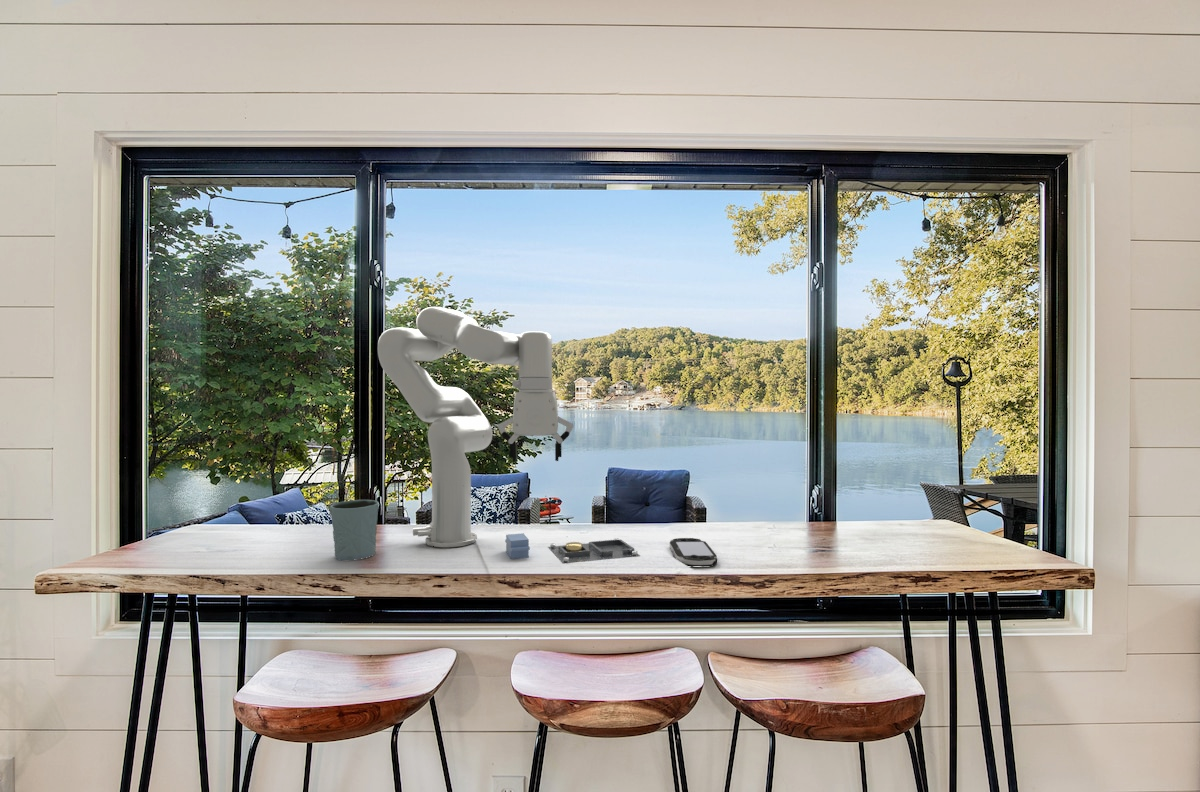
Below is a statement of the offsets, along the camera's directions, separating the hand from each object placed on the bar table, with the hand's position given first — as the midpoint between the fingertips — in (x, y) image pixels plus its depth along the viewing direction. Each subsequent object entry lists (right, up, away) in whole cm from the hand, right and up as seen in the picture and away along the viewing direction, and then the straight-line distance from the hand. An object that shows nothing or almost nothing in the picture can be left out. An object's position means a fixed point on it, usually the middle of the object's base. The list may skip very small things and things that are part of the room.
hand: (535, 460), depth 129 cm
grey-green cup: (-42, -22, 0) cm, 47 cm away
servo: (-4, -22, -2) cm, 23 cm away
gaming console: (+36, -23, +2) cm, 43 cm away
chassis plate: (+13, -22, +1) cm, 26 cm away
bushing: (+9, -21, 0) cm, 23 cm away
